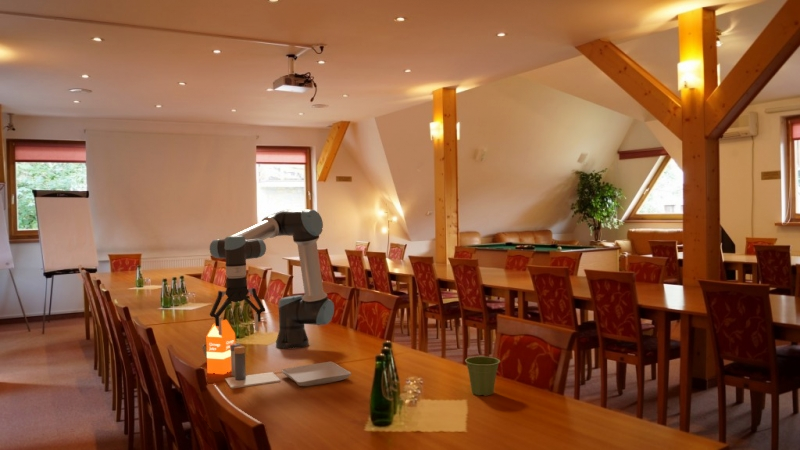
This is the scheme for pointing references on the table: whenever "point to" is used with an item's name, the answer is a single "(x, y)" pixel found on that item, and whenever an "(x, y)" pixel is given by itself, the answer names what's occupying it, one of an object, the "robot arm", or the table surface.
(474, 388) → the plant pot
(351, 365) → the table surface
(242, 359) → the marker
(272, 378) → the paper
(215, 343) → the orange juice
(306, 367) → the salad plate
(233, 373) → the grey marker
